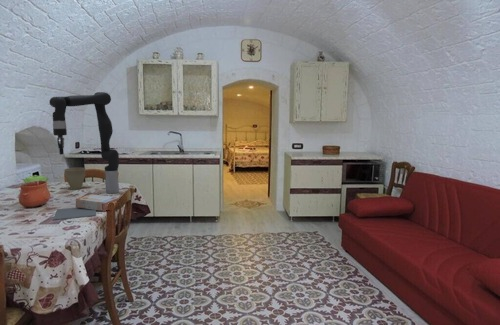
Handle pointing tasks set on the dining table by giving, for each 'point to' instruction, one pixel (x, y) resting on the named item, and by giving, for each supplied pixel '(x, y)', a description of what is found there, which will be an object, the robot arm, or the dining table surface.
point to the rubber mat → (73, 213)
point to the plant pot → (75, 177)
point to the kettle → (35, 178)
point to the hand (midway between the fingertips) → (61, 154)
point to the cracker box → (94, 202)
